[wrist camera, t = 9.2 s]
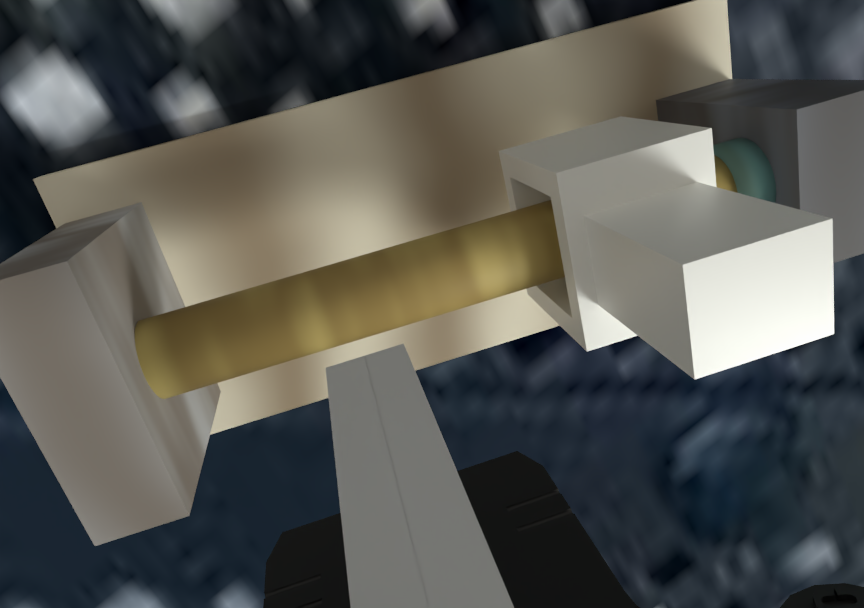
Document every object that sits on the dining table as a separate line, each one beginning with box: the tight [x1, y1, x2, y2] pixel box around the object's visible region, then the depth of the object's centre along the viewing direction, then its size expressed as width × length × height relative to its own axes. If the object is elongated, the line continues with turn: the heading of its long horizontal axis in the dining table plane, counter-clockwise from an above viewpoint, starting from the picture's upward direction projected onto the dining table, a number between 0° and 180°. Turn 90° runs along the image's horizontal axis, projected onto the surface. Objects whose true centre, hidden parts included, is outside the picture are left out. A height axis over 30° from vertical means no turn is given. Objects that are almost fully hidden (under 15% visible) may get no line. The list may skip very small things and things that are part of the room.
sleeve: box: [499, 116, 834, 379], centre depth 16 cm, size 4×5×9 cm
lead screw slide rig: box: [0, 0, 864, 546], centre depth 20 cm, size 23×10×8 cm, turn 104°
